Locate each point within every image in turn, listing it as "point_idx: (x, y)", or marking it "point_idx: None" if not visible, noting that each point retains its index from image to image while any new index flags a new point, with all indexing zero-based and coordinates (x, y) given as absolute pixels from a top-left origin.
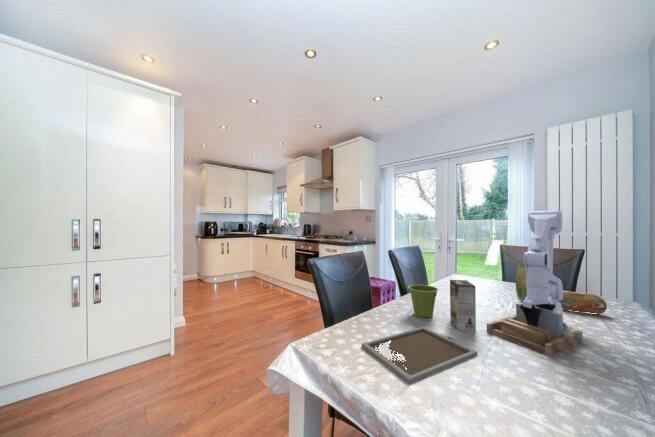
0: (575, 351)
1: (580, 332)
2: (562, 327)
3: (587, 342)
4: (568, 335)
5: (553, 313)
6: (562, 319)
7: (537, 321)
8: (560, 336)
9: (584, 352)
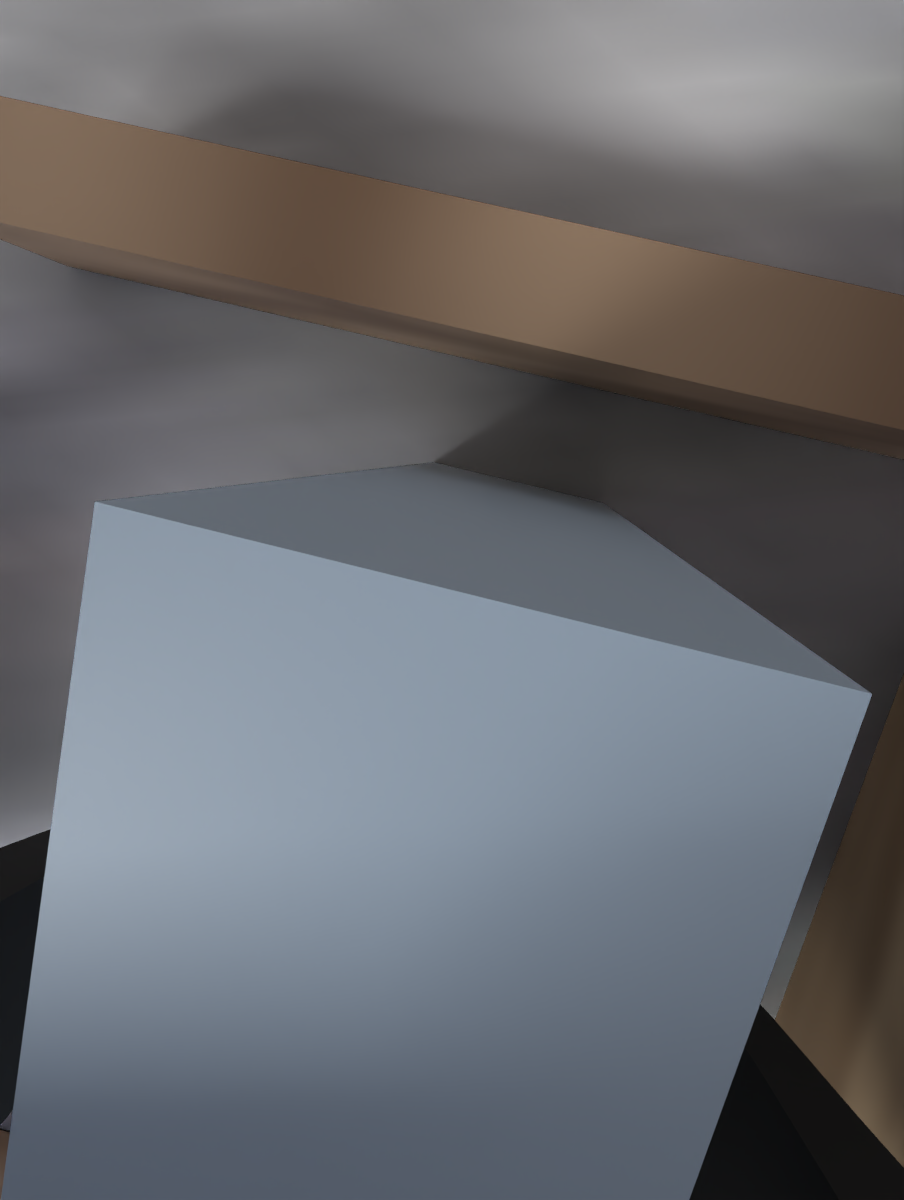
0: (897, 208)
1: (42, 105)
2: (416, 477)
3: (77, 94)
4: (635, 317)
5: (719, 1044)
6: (312, 488)
7: (869, 1164)
8: (566, 500)
9: (804, 63)
